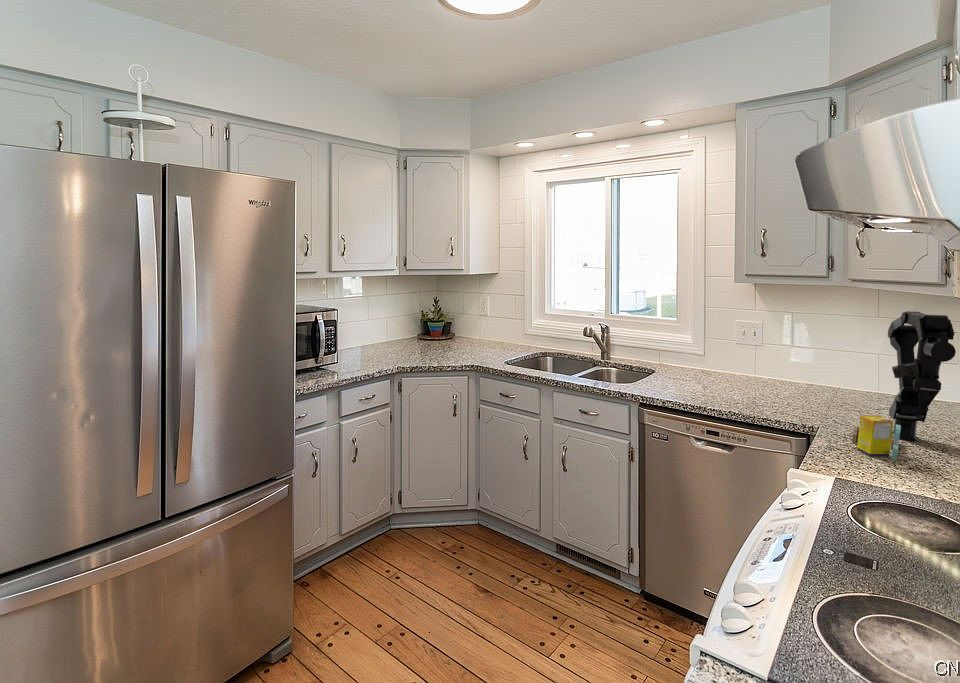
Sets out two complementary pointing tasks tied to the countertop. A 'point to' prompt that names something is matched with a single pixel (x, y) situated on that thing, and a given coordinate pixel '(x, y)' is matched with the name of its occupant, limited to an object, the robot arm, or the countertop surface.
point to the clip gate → (896, 442)
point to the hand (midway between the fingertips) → (922, 407)
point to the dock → (856, 433)
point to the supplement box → (875, 435)
